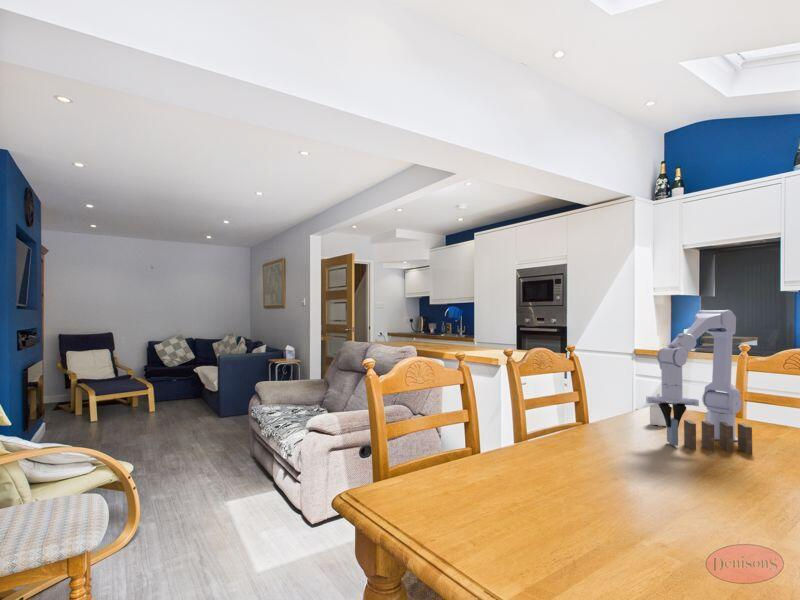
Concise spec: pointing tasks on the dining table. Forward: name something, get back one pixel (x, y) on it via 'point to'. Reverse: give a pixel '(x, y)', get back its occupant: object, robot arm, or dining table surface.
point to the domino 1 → (673, 432)
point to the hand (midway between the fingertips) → (672, 426)
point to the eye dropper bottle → (656, 414)
